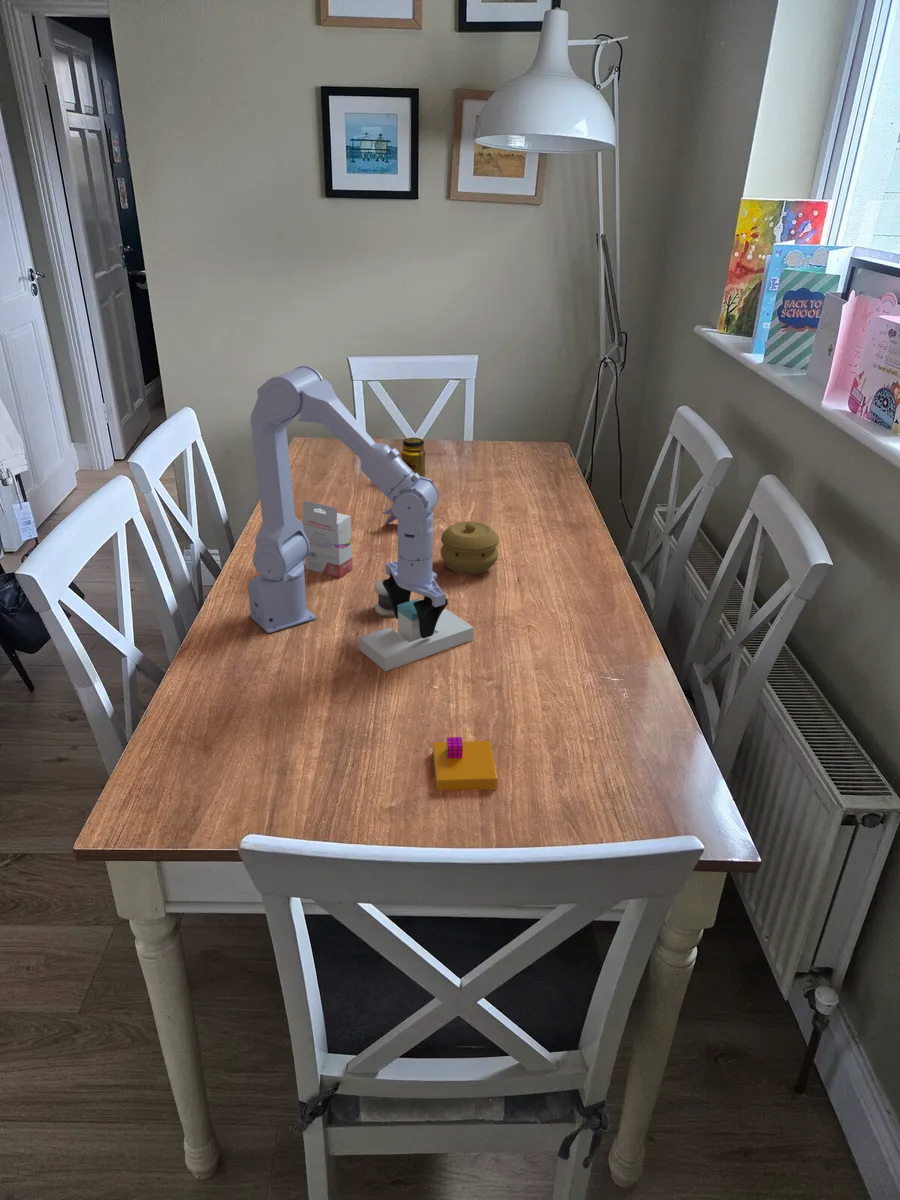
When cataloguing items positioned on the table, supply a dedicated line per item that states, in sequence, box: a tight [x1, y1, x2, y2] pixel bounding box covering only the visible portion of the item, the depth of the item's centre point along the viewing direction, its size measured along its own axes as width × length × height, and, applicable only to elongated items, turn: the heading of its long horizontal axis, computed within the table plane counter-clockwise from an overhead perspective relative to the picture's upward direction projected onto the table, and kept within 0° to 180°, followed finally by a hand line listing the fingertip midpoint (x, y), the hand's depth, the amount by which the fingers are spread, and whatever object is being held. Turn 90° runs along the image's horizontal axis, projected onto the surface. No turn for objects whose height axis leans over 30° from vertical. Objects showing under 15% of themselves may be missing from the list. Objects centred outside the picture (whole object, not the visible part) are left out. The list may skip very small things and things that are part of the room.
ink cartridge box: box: [302, 499, 353, 579], centre depth 159 cm, size 9×5×15 cm, turn 62°
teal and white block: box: [397, 598, 422, 642], centre depth 137 cm, size 4×4×7 cm
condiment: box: [400, 437, 434, 483], centre depth 206 cm, size 7×8×12 cm
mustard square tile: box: [432, 736, 498, 791], centre depth 109 cm, size 8×8×4 cm
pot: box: [440, 521, 500, 575], centre depth 163 cm, size 12×12×10 cm
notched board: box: [358, 608, 475, 672], centre depth 137 cm, size 18×8×2 cm, turn 127°
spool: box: [374, 578, 396, 618], centre depth 148 cm, size 6×6×5 cm
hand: (414, 626), depth 137 cm, fingers open, 7 cm apart
